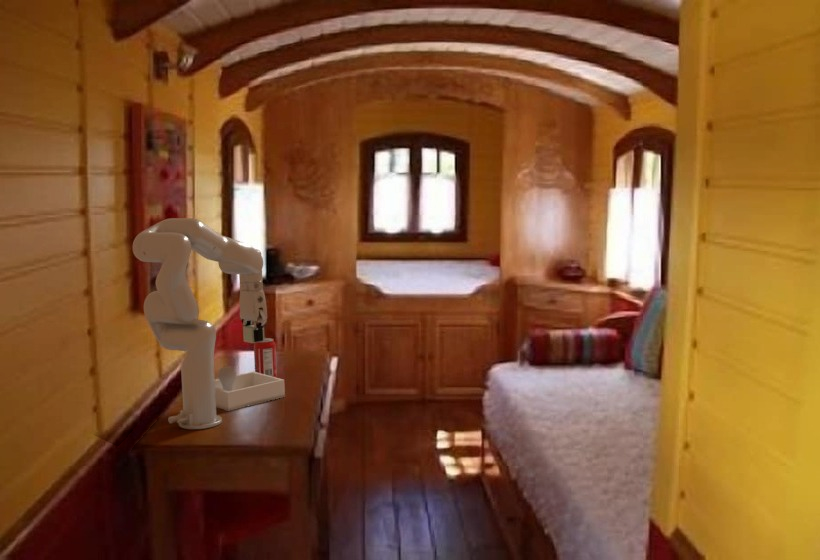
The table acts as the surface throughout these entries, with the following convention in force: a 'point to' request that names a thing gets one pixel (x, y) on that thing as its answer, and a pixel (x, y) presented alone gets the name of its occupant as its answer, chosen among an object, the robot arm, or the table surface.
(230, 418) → the table surface
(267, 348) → the soda can
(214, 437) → the table surface
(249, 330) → the sage cube
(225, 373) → the lightbulb
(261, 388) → the tote
